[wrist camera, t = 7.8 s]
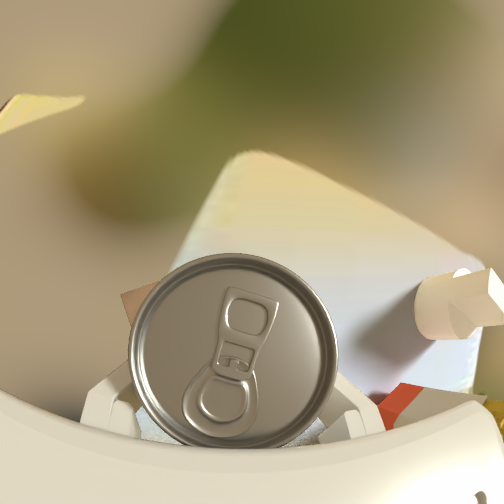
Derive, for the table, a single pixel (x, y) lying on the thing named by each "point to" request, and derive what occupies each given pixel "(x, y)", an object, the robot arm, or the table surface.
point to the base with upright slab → (458, 304)
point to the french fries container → (429, 405)
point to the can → (233, 353)
